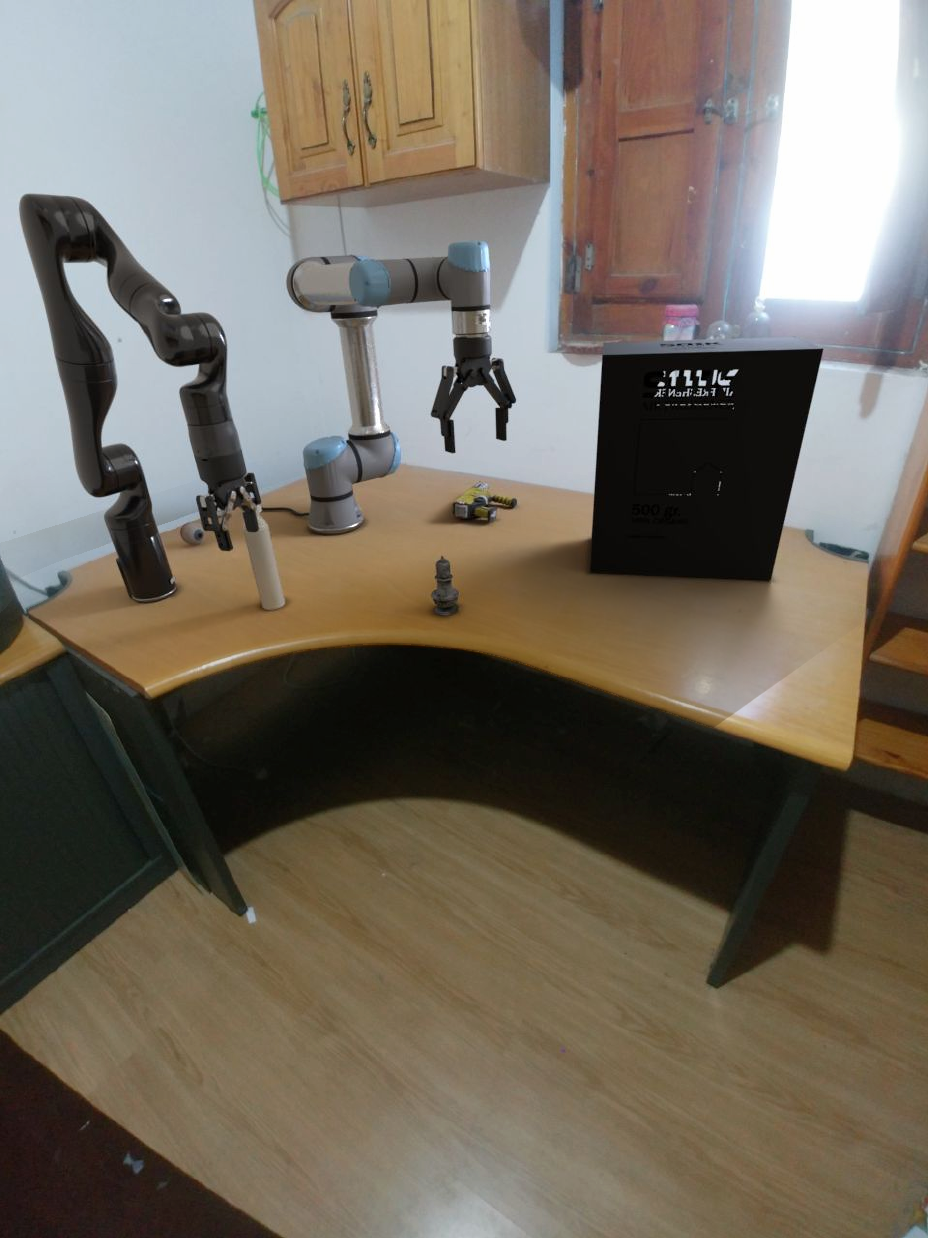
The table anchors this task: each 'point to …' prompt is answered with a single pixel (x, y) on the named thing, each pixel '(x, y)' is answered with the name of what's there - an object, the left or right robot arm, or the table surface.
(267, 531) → the bottle
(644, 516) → the cardboard box
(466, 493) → the toy gun
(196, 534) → the eyeball
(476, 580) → the table surface
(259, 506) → the cap
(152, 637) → the table surface
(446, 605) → the grey chess piece
